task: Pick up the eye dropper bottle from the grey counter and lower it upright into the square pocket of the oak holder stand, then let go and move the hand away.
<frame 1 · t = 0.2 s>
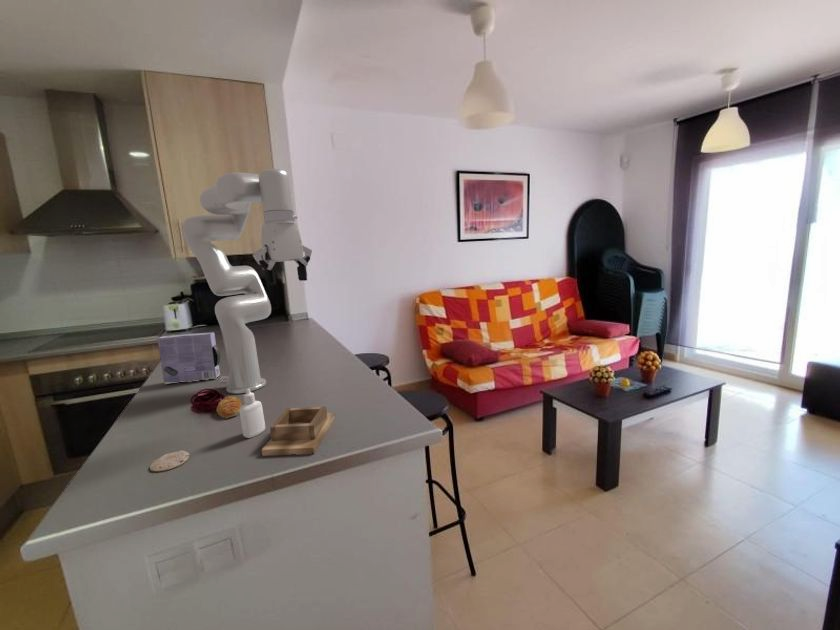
hand: (288, 282, 106), 37 cm above the counter, tool pointing down, fingers open, 9 cm apart
holder stand: (301, 435, 96), on the counter
cake pan box: (194, 380, 144), on the counter
flatbread: (171, 463, 88), on the counter
pastry: (231, 413, 113), on the counter
eye dropper bottle: (255, 434, 99), on the counter
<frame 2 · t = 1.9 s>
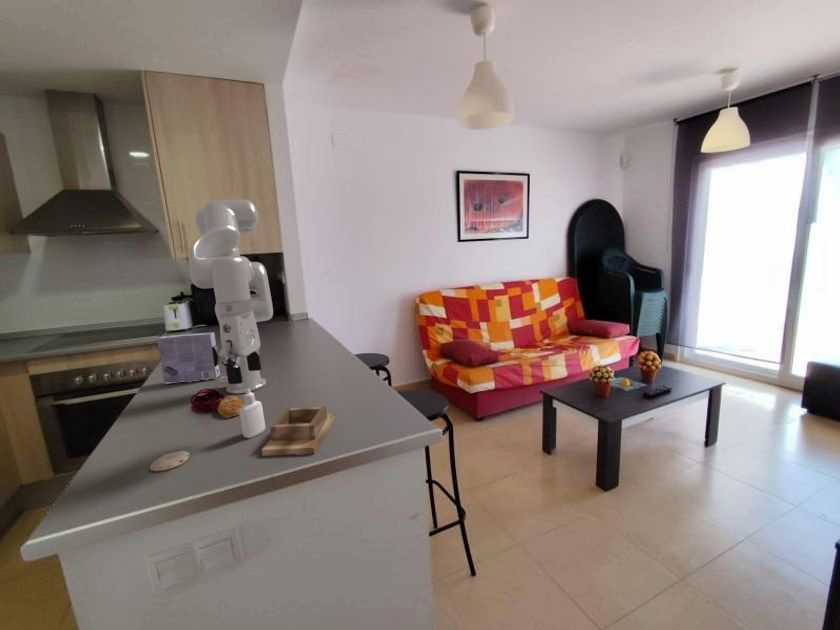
hand: (245, 376, 95), 15 cm above the counter, tool pointing down, fingers open, 9 cm apart
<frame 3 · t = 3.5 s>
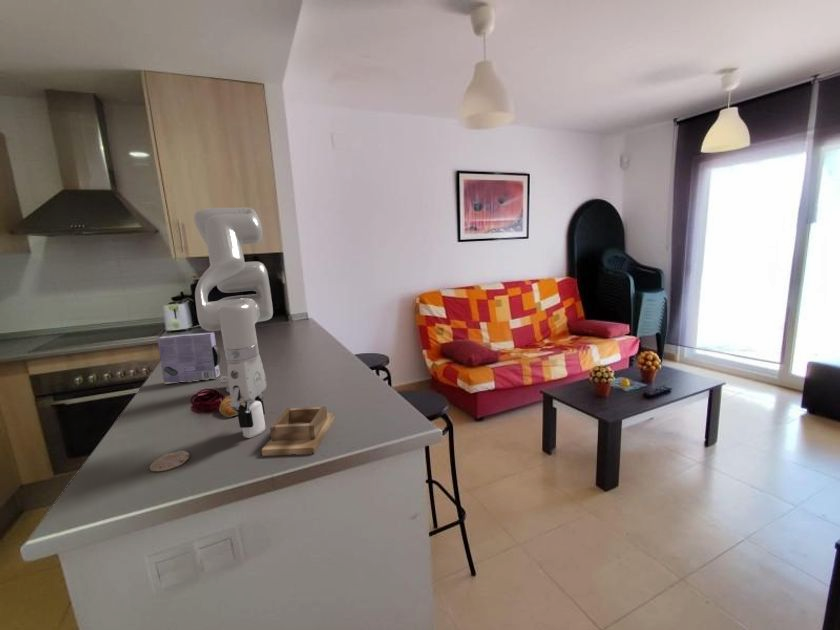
hand: (252, 420, 98), 4 cm above the counter, tool pointing down, fingers closed on eye dropper bottle, 5 cm apart
eye dropper bottle: (255, 433, 99), on the counter, touching gripper
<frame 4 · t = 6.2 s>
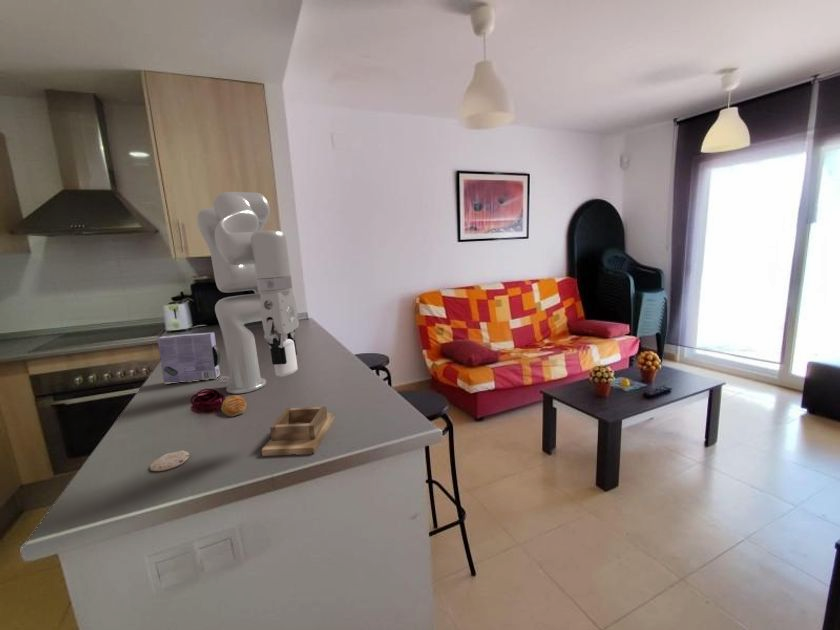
hand: (285, 359, 92), 20 cm above the counter, tool pointing down, fingers closed on eye dropper bottle, 5 cm apart
eye dropper bottle: (287, 373, 93), point 16 cm above the counter, touching gripper
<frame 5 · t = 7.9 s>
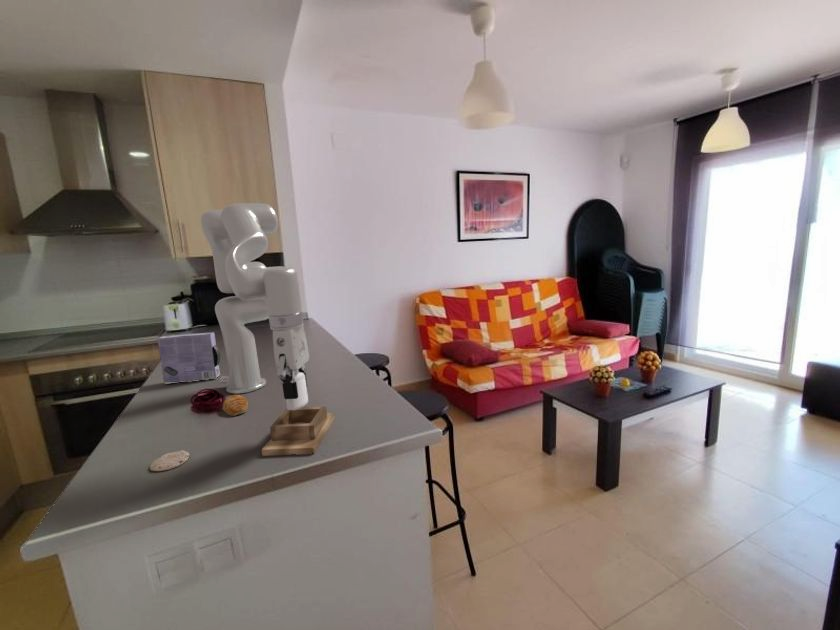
hand: (296, 392, 94), 11 cm above the counter, tool pointing down, fingers closed on eye dropper bottle, 5 cm apart
eye dropper bottle: (298, 406, 94), point 8 cm above the counter, touching gripper
when the fingers open (6 cm above the counter, at t = 9.3 s): eye dropper bottle drops 1 cm, resting on holder stand.
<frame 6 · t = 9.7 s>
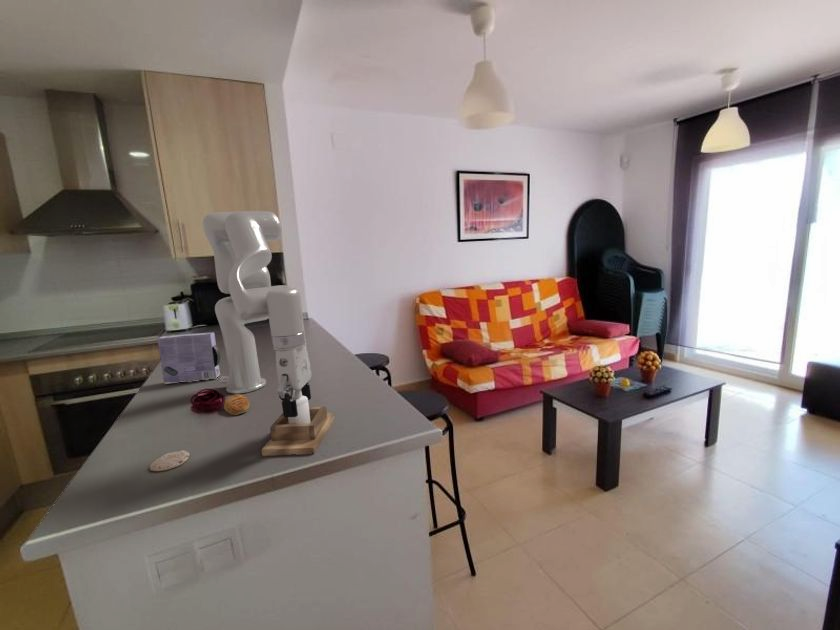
hand: (298, 407, 95), 7 cm above the counter, tool pointing down, fingers open, 9 cm apart
eye dropper bottle: (300, 429, 96), point 1 cm above the counter, touching holder stand
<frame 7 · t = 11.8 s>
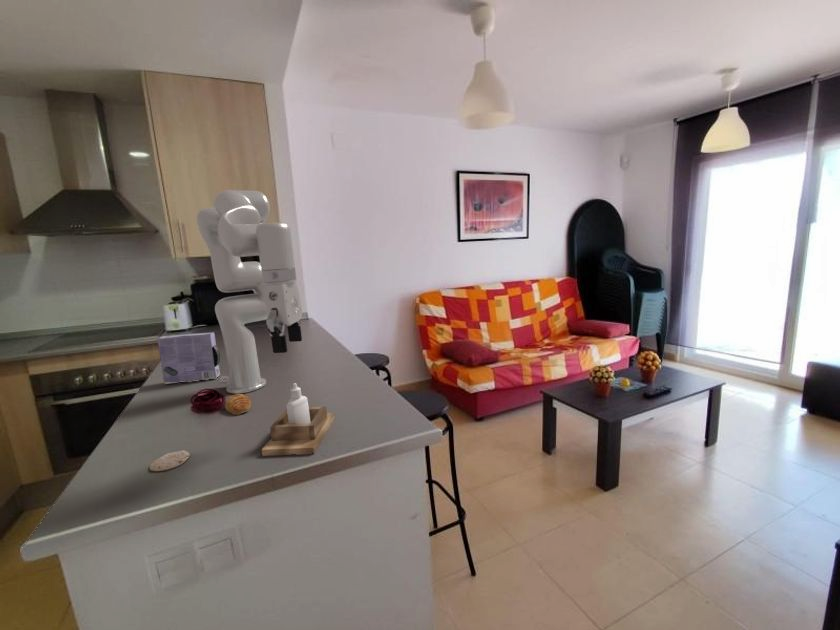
hand: (288, 346, 94), 22 cm above the counter, tool pointing down, fingers open, 9 cm apart
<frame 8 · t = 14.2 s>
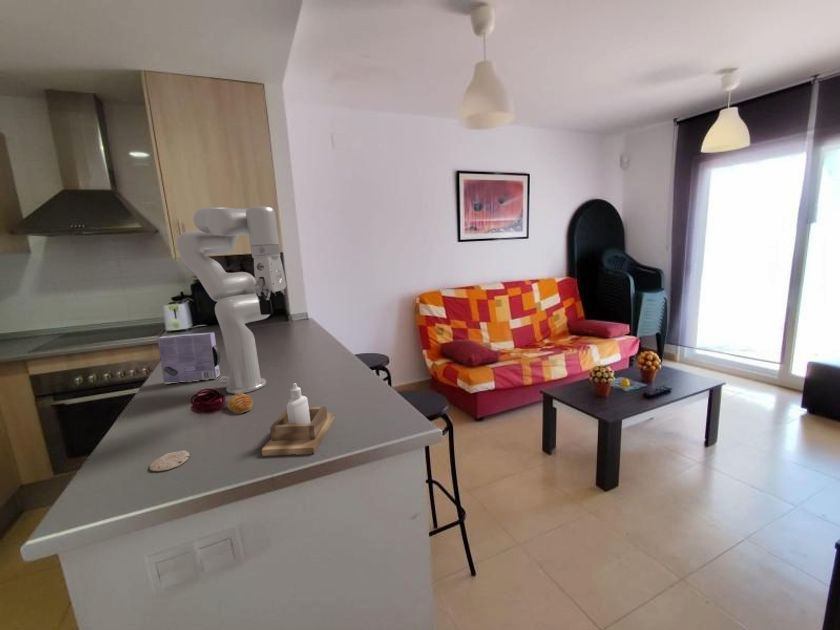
hand: (274, 311, 112), 28 cm above the counter, tool pointing down, fingers open, 9 cm apart
at the end: eye dropper bottle 0.1 cm off-centre on the holder stand, point 1.3 cm above the holder stand's base; eye dropper bottle tilted 0°; the gripper is holding nothing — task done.
